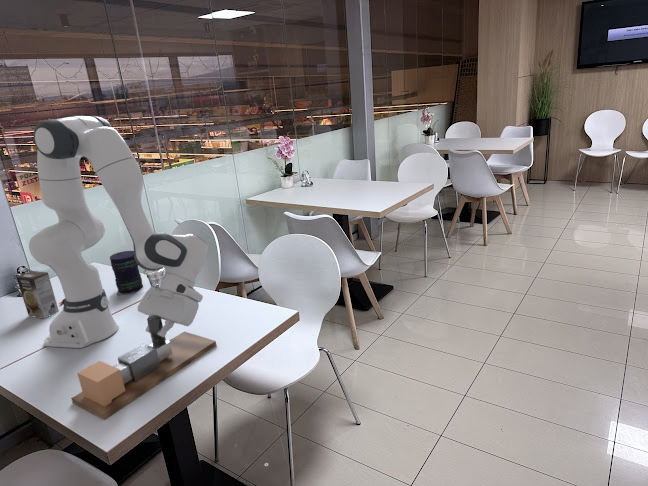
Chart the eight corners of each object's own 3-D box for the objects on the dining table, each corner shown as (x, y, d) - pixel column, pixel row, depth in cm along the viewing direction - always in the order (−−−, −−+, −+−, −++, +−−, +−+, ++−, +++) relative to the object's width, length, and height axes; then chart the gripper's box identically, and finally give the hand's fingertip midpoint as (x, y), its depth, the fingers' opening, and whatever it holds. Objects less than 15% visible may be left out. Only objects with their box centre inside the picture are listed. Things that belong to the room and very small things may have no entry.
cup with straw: (171, 295, 178) (160, 247, 172) (146, 300, 176) (135, 251, 170) (171, 287, 186) (161, 240, 180) (148, 292, 184) (137, 244, 178)
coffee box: (27, 316, 172) (14, 276, 167) (43, 308, 177) (31, 270, 172) (44, 319, 168) (32, 278, 163) (60, 311, 174) (48, 271, 169)
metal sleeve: (147, 361, 130) (143, 343, 129) (160, 366, 127) (156, 348, 125) (122, 377, 124) (117, 358, 122) (135, 382, 121) (130, 363, 119)
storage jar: (147, 287, 189) (140, 253, 184) (124, 296, 182) (116, 260, 178) (136, 282, 195) (128, 249, 191) (113, 290, 189) (105, 256, 184)
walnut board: (185, 335, 146) (184, 331, 146) (216, 345, 139) (215, 340, 138) (72, 403, 117) (71, 398, 117) (104, 419, 110) (102, 414, 109)
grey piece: (163, 350, 134) (155, 313, 130) (172, 353, 132) (164, 316, 128) (96, 391, 117) (84, 349, 114) (105, 395, 115) (93, 353, 111)
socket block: (105, 383, 122) (99, 360, 120) (126, 392, 117) (119, 369, 115) (84, 396, 117) (77, 372, 115) (104, 406, 112) (97, 382, 110)
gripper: (145, 279, 136) (123, 323, 131) (192, 289, 125) (170, 338, 120) (160, 287, 141) (140, 330, 136) (207, 298, 130) (186, 345, 125)
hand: (154, 334), depth 128 cm, fingers closed on grey piece, 4 cm apart
